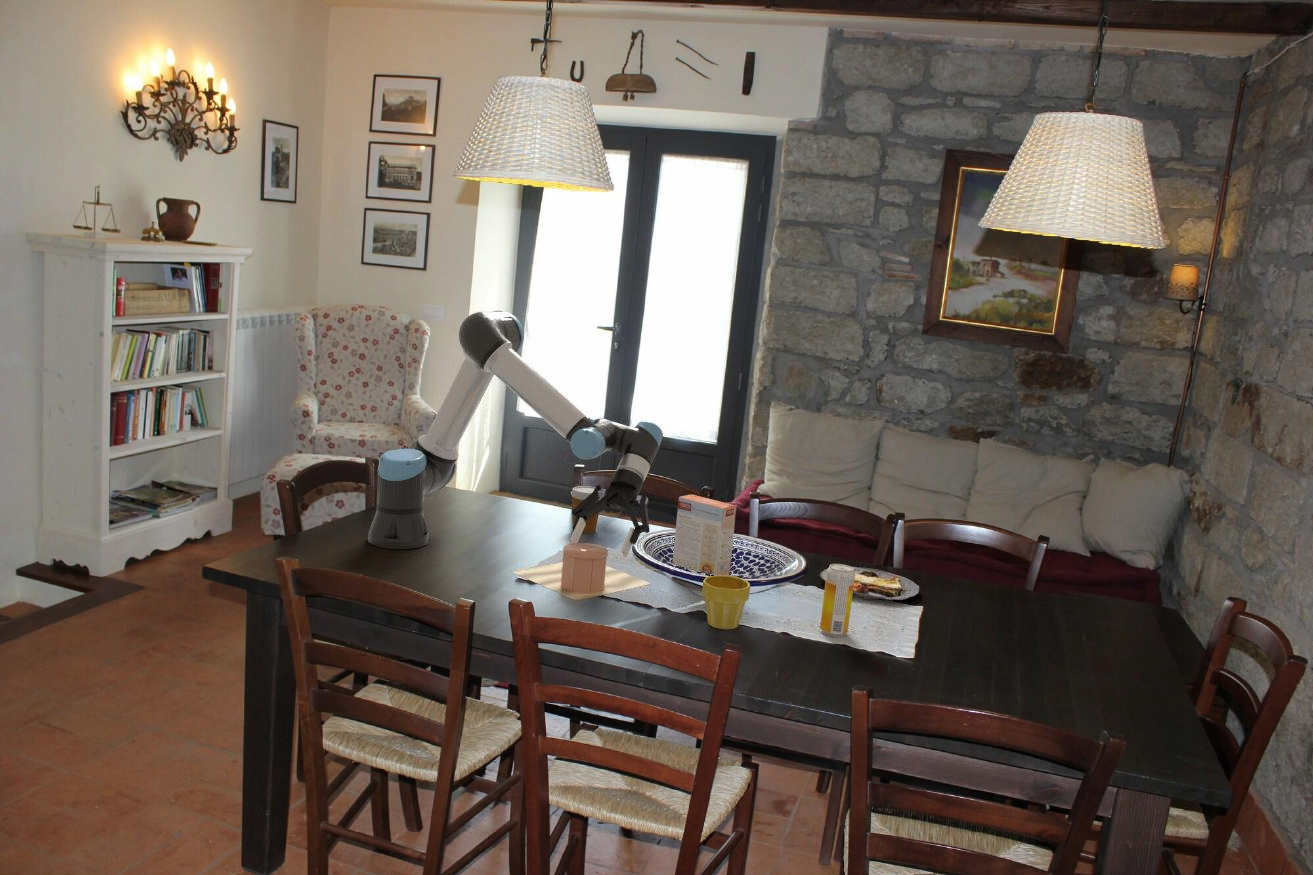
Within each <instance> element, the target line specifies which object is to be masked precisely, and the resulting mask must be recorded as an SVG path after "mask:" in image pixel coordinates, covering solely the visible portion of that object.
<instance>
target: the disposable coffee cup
mask: <svg viewBox="0 0 1313 875" xmlns="http://www.w3.org/2000/svg"><path fill="white" fill-rule="evenodd" d="M595 488H596V486H588V485H580V486H575V487H573V488H572V491H570V494H571V501H572V502H571V503H572V510H573V509H574V508H576V507H577V506H578V505H579V504H580V503H581V502H582V501H583V500H585V499H586V498H587V497H588V496H589V495H590V494H591V493H592V492H593V491H594V489H595ZM604 496H605V495H603V497H604ZM603 497H602V498H603ZM600 499H601V497H600ZM600 499H599V500H598V501H600ZM598 501H597V502H598ZM597 502H596V503H597ZM599 516H600V512H599V513H598V514H596V515H594V516H593V517H591V518H589V519H588V520H586V521H585V523H586V525H585V527H584V529H583V532H582V534H592V533H595V532H597V531H596V529H597V526H598V525H597V524H598V521H599ZM575 521H576V519H575V518H574V516H573V515H572V522H573V523H572V524H573V525H574V523H575ZM573 525H572V526H573Z"/></svg>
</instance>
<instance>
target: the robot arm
mask: <svg viewBox="0 0 1313 875" xmlns="http://www.w3.org/2000/svg"><path fill="white" fill-rule="evenodd" d="M524 339H525V332H524V329H523V325H522V323H521V321H520V320H519V319H518V318H517V317H516V315H514V314H511V313H509V312H507V311H503V310H494V311H477V312H474V313H471V314H470V315H468V316H467V317H465V319H464V320H463V321H462V322H461V324H460V326H459V331H458V341H459V344H460V347H461V348H462V352H463V354H464V360H463V362H462V364H461V366H460V367H459V370H458V372H457V374H456V376H455V378H454V380H453V382H452V384H451V385H450V388H449V389H448V392H447V394H446V396H445V397H444V399H443V401H442V404H441V406H440V408H439V409H438V411H437V414H436V416H435V417H434V418H433V419H434V420H433V422H432V423H431V426H430V427H429V429H428V431H427V433H425V434H422V435H420V436H418V438H417V440H416V441H415V444H414V447H413V448H399V449H391V450H387V451H385V452H384V453H383V454H381V455H380V457H379V458H378V459H379V461H378V466H377V492H376V493H377V494H376V510H375V511H376V512H375V514H374V517H373V521H372V523H371V525H370V528H369V530H368V536H367V537H368V538H367V542H368V543H369V544H370V543H371V544H370V545H371V546H374V545H375V546H374V547H377V548H383V549H387V550H388V549H390V550H410V549H417V548H421V547H425V546H426V545H428V543H429V537H430V536H429V531H428V530H429V529H428V526H427V523H426V520H425V519H426V518H425V516H424V503H425V502H424V501H425V500H424V498H425V497H424V496H425V495H427V494H428V495H429V494H430V493H433V492H436V491H439V490H441V489H443V488H445V487H446V486H447V485H449V483H450V482H452V480H453V479H454V477H455V475H456V471H457V463H456V462H457V460H458V459H459V453H458V450H457V447H458V446H459V444H460V442H461V439H462V438H463V435H464V434H465V432H466V430H467V429H468V426H469V424H470V422H471V421H472V419H473V416H474V415H475V413H476V410H477V409H478V407H479V405H480V403H481V401H482V399H483V398H484V395H485V393H486V391H487V390H488V387H489V386H490V383H491V382H492V380H493V378H494V376H496V378H497V379H499V380H500V381H501V383H503V384H504V385H506V387H507V388H509V389H510V390H511V391H512V392H513V393H514V394H515V395H516V396H518V397H519V399H520V400H522V401H523V402H524V403H525V404H526V405H527V406H529V407H530V409H532V410H533V411H534V413H535V414H537V415H538V416H540V418H542V419H543V420H544V422H546V423H547V424H548V425H549V426H551V427H552V428H553V429H554V430H555V431H556V432H557V433H558V434H559V435H560V436H562V437H563V439H565V441H567V442H568V443H569V444H570V450H571V451H572V453H573V454H574V455H575V457H576V458H578V459H580V460H592V459H596V458H599V457H600V456H601V455H602V454H604V453H606V452H611V453H615V454H619V455H621V456H622V457H621V459H620V461H619V464H618V465H617V467H616V471H615V472H614V474H613V476H612V478H611V481H610V482H609V487H607V489H605V488H603V487H601V485H599V484H598V485H596V486H595V487H596V488H595V489H594V491H593V492H592V493H591V494H590V495H589V496H588V497H587V498H586V499H585V500H583V501H582V502H581V503H580V504H579V505H578V506H577V507H576V508H574V509H573V508H572V510H571V515H572V517H573V516H574V518H575V519H576V521H575V523H574V525H572V528H571V529H572V531H573V532H572V533H571V534H572V535H571V536H570V538H569V542H570V544H573V543H579V540H580V538H581V536H582V534H583V533H582V532H583V529H584V527H585V525H586V523H585V521H586V520H588V519H589V518H591V517H593V516H594V515H596V514H598V513H599V514H600V513H601V512H602V511H604V510H608V509H610V508H611V509H613V510H619V511H624V510H627V513H628V515H629V517H630V520H631V522H632V524H633V527H630V529H629V530H628V533H627V535H626V538H625V540H624V542H623V544H622V548H621V549H620V552H621V553H622V556H623V557H625V558H627V557H628V555H629V553H630V550H631V549H632V548H631V547H632V545H636V544H637V542H638V540H639V538H640V535H641V534H643V533H645V534H648V533H650V532H651V531H650V522H649V514H648V513H649V512H648V505H649V498H648V496H647V494H646V493H642V494H641V495H640V492H641V490H642V487H643V485H644V482H645V480H646V478H647V476H648V474H649V472H650V469H651V467H652V463H654V462H653V461H654V460H655V458H656V456H657V453H658V451H659V450H660V446H661V443H662V440H663V438H664V433H663V430H662V428H661V427H660V426H659V425H657V424H656V423H654V422H651V421H648V420H646V421H644V420H641V421H639V422H637V424H636V425H635V426H634V427H633V426H632V425H631V426H630V425H626V424H623V423H619V422H616V421H613V420H609V419H606V418H605V417H598V416H589V417H587V416H586V415H585V413H583V412H582V410H580V409H579V408H577V407H576V405H574V404H573V403H572V402H571V401H570V400H569V399H568V398H567V397H566V396H565V395H563V393H561V392H560V391H559V390H558V389H557V388H556V387H554V386H553V385H552V383H550V382H549V381H548V380H547V379H546V378H544V376H543V375H541V374H540V373H539V372H538V371H537V370H536V369H535V368H533V367H532V366H531V365H530V364H529V363H528V362H527V361H526V360H525V359H524V358H523V357H521V356H520V355H519V354H518V353H517V352H518V351H519V350H520V349H521V348H522V346H523V344H524ZM603 495H604V497H603ZM600 497H601V499H600ZM602 497H603V498H602ZM599 499H600V501H598V500H599ZM597 501H598V502H597ZM596 502H597V503H596ZM606 502H607V503H606ZM637 502H638V504H639V508H640V517H641V524H639V521H638V519H637V516H636V514H635V511H634V510H633V507H632V506H633V505H634V504H636V503H637Z"/></svg>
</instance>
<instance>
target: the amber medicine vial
mask: <svg viewBox="0 0 1313 875" xmlns="http://www.w3.org/2000/svg"><path fill="white" fill-rule="evenodd" d="M852 567H853V566H850V565H848V564H842V563H831V564H830V565H829V567H828V568H826V569H827V574H826V582H825V581H824V583H825V584H824V592H823V602H822V608H821V616H820V623H819V624H820V625H819V628H820V630H821V632H822V633H823V634H825V635H827V636H830V637H833V638H834V637H835V638H838V637H839V638H840V637H844V636H846V634H847V633H848V631H849V624H850V617H851V610H852V609H851V608H852V601H853V595H854V594H853V587H854V579H855V573H854V568H852Z"/></svg>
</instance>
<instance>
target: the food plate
mask: <svg viewBox="0 0 1313 875" xmlns="http://www.w3.org/2000/svg"><path fill="white" fill-rule="evenodd" d="M851 567H852V568H854V573H855V579H854V587H853V594H852V595H853V596H857V597H859V598H863V599H864V600H865V599H867V600H868V599H875V600H879V599H881V600H885V601H886V600H891V601H893V600H895V601H896V600H899V601H902V600H907V599H909V598H910V597H914V596H916V595H917V594H919V592H920V586H919V585H918V584H916V583H915V582H913V581H912V580H910V579H909V578H907V577H904V576H901V575H897V574H894V573H891V572H889V571H886V570H882V569H879V568H878V569H877V568H870V567H868V568H867V567H857V566H851ZM827 569H828V568H825V569H823V570H821V572H820V573H819V576H818V577H819V578H820V579H821V580H823V582H824V583H825V582H826V574H827ZM899 593H900V595H899ZM888 596H889V597H888Z"/></svg>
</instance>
